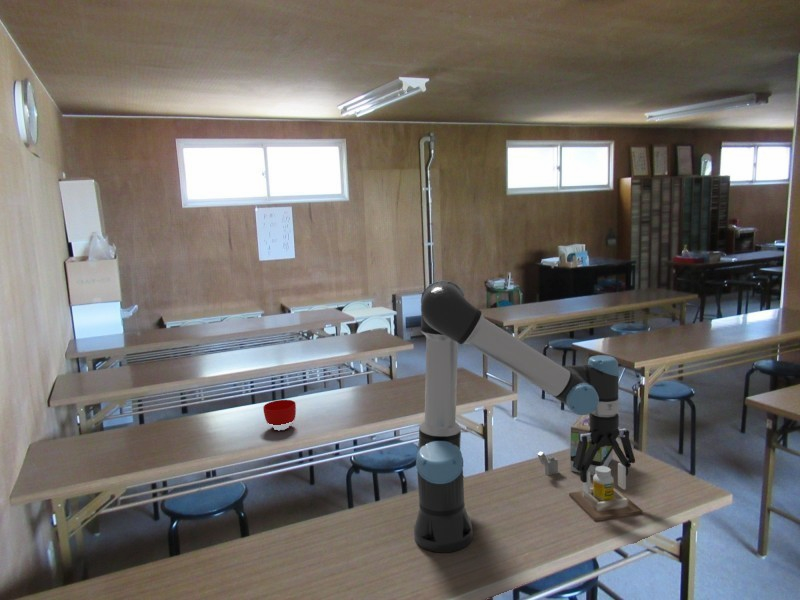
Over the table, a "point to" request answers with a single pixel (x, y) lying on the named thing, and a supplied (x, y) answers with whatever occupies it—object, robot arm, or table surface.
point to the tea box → (602, 455)
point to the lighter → (549, 463)
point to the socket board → (605, 505)
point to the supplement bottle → (603, 484)
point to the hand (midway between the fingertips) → (604, 489)
